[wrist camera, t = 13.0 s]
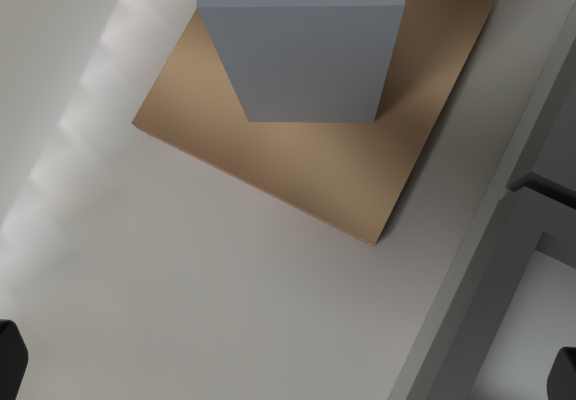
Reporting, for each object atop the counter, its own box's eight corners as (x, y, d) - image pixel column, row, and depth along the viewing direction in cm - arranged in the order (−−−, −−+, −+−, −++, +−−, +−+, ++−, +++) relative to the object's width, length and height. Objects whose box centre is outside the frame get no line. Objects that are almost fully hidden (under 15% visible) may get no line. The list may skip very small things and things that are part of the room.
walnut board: (373, 246, 22) (374, 244, 21) (138, 128, 23) (131, 122, 23) (488, 13, 23) (494, 3, 22) (258, -84, 25) (256, -96, 24)
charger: (373, 122, 22) (405, 5, 13) (248, 122, 22) (196, 7, 13) (374, 6, 23) (403, -179, 14) (253, 7, 23) (207, -172, 14)
